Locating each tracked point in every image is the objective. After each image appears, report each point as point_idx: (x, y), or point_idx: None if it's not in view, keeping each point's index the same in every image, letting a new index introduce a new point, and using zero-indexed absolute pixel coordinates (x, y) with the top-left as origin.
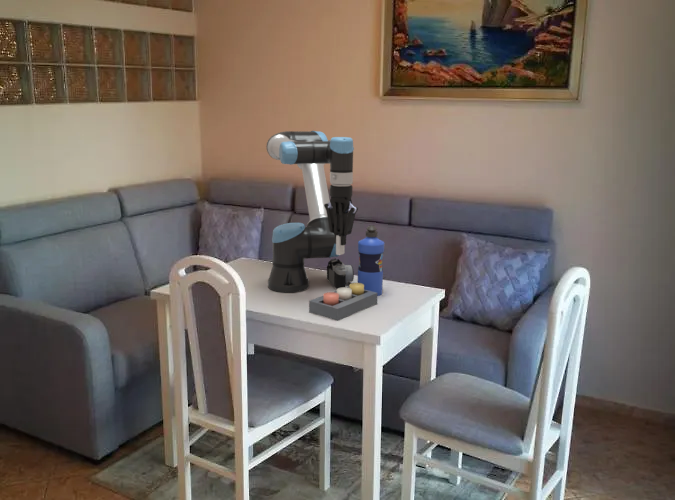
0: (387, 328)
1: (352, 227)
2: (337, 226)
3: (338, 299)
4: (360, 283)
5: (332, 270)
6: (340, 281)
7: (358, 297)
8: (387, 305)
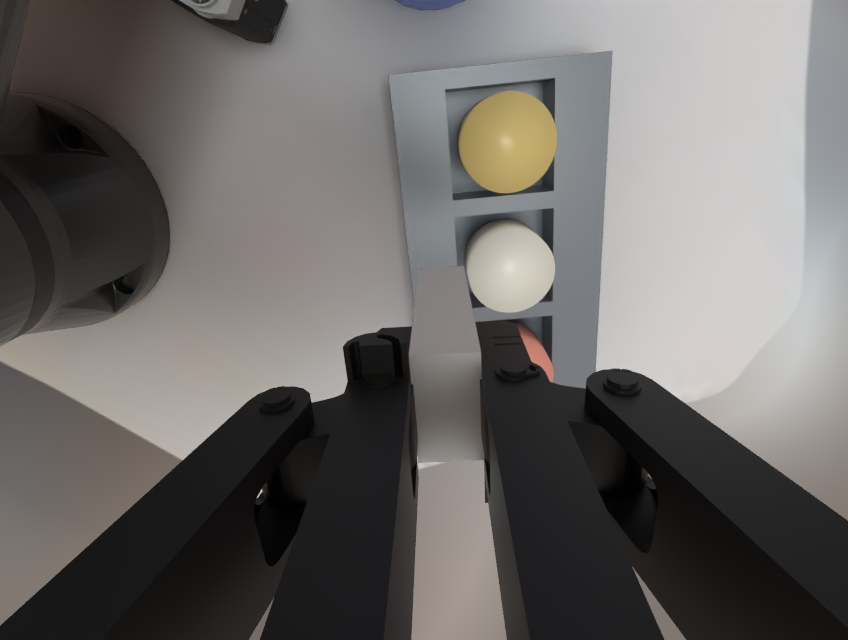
0: (797, 296)
1: (744, 447)
2: (410, 556)
3: (544, 349)
4: (505, 97)
5: None
6: (257, 24)
7: (571, 212)
8: (649, 33)
